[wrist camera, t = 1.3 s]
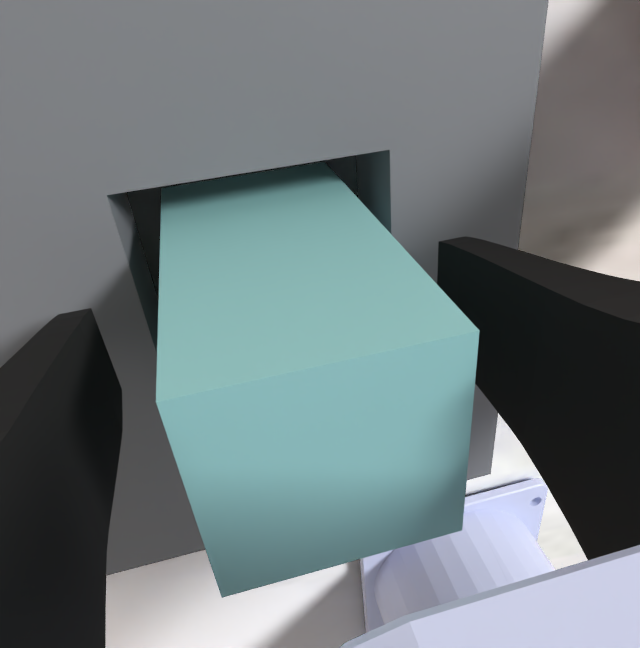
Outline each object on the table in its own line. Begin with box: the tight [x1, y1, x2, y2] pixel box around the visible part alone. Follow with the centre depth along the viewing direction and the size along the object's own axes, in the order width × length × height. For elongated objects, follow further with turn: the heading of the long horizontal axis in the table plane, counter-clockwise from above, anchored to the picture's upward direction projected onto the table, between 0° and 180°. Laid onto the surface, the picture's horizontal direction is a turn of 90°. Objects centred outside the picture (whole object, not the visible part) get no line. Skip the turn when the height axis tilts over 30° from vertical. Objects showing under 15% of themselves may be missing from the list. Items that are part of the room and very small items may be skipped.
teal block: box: [156, 162, 480, 597], centre depth 11 cm, size 4×4×8 cm
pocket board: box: [0, 0, 548, 575], centre depth 13 cm, size 16×12×2 cm
